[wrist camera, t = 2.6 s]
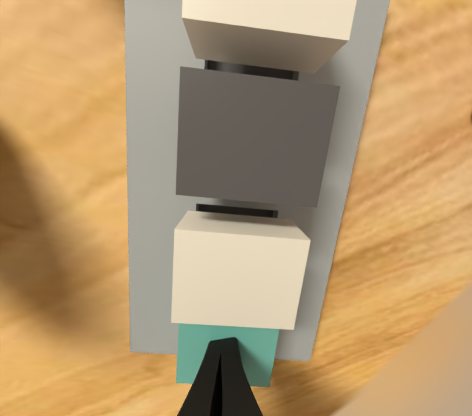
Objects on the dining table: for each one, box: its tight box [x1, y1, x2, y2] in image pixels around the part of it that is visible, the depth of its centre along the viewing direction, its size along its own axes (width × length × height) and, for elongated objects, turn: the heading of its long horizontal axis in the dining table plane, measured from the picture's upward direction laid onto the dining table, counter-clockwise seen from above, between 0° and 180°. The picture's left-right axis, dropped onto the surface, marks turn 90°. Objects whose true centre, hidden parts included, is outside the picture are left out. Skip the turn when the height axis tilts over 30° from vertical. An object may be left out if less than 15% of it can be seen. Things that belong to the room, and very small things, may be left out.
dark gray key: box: [176, 66, 340, 208], centre depth 9 cm, size 5×4×4 cm
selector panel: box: [124, 0, 390, 361], centre depth 13 cm, size 12×22×1 cm, turn 174°
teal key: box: [176, 323, 279, 387], centre depth 13 cm, size 5×4×4 cm
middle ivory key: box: [171, 211, 311, 330], centre depth 10 cm, size 5×4×4 cm
